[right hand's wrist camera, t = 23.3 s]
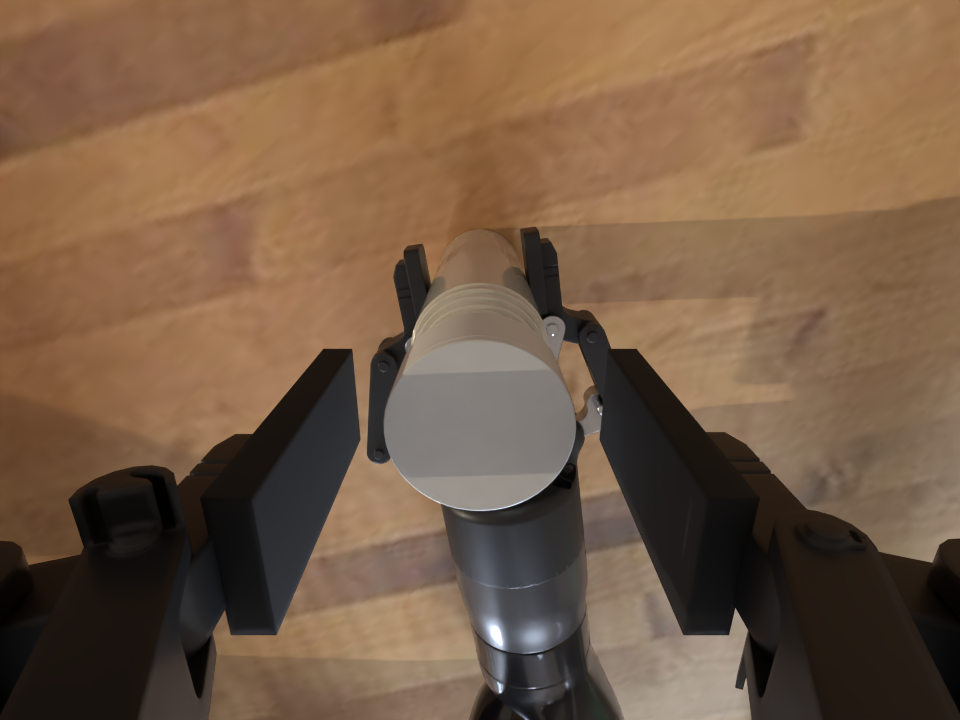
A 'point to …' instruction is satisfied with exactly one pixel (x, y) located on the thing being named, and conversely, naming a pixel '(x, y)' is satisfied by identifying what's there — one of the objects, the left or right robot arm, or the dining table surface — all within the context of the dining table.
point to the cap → (479, 413)
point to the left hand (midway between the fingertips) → (470, 240)
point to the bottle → (479, 284)
